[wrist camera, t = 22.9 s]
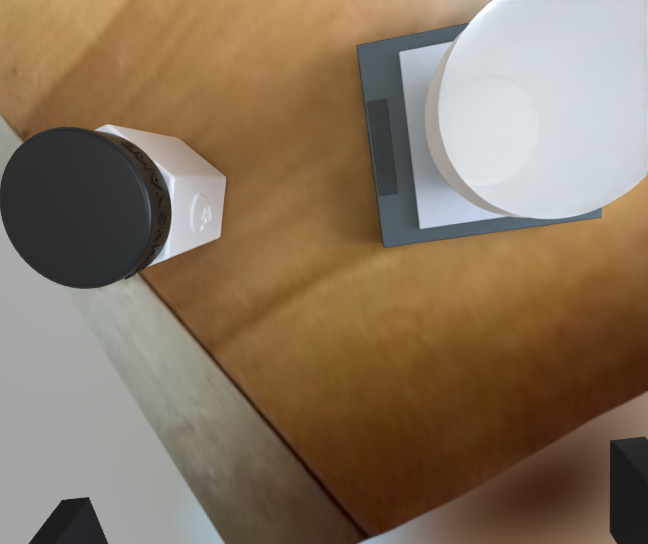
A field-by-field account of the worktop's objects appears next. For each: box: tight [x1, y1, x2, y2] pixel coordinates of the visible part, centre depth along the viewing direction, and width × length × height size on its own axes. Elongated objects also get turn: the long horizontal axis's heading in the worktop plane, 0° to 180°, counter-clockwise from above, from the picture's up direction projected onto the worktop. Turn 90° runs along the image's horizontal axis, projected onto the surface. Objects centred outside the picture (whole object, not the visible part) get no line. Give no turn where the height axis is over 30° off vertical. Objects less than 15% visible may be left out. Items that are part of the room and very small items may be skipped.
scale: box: [357, 23, 602, 248], centre depth 30 cm, size 14×13×3 cm
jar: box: [0, 124, 226, 289], centre depth 29 cm, size 9×8×12 cm
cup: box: [425, 0, 648, 219], centre depth 23 cm, size 9×9×12 cm
